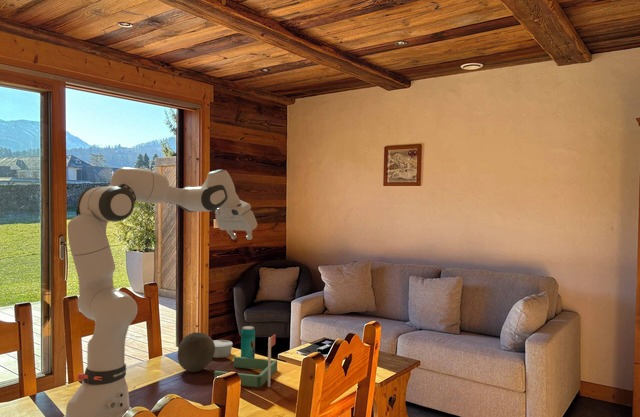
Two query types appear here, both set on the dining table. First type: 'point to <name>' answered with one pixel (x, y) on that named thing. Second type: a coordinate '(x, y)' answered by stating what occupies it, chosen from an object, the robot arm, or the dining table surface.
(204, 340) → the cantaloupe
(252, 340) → the beverage can
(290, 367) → the dining table surface
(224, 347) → the ramekin
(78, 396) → the robot arm
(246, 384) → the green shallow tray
